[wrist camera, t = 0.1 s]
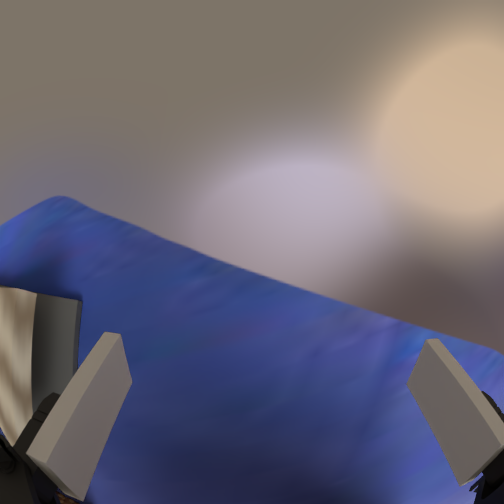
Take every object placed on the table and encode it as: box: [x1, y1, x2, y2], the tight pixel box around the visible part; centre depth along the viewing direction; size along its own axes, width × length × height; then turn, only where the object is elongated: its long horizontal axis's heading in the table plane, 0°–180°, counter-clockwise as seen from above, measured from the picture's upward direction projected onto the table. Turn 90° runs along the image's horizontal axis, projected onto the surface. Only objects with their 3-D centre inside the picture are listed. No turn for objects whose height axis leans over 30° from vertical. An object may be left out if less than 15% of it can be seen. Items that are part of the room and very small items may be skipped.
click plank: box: [0, 287, 37, 447], centre depth 19 cm, size 16×11×2 cm
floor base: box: [0, 285, 82, 414], centre depth 22 cm, size 17×20×3 cm
